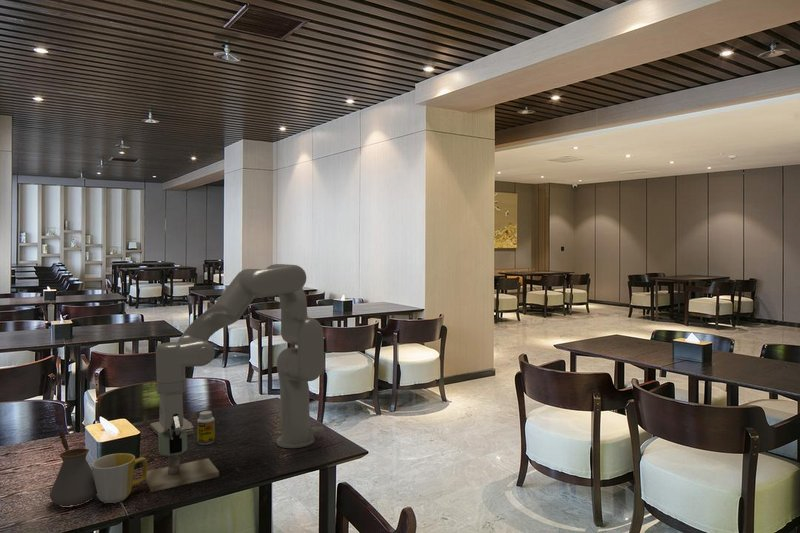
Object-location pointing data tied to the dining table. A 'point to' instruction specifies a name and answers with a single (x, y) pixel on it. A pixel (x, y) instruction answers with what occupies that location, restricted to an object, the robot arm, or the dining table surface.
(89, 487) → the coffee pot
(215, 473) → the post board
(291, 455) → the dining table surface
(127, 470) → the mug
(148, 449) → the dining table surface
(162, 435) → the collar
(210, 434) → the supplement bottle
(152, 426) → the washcloth
